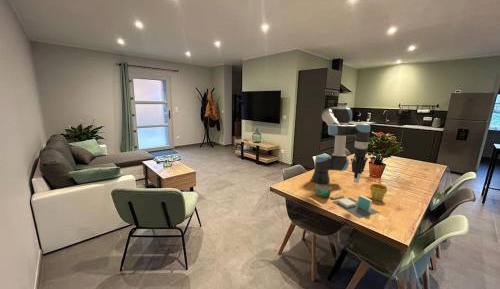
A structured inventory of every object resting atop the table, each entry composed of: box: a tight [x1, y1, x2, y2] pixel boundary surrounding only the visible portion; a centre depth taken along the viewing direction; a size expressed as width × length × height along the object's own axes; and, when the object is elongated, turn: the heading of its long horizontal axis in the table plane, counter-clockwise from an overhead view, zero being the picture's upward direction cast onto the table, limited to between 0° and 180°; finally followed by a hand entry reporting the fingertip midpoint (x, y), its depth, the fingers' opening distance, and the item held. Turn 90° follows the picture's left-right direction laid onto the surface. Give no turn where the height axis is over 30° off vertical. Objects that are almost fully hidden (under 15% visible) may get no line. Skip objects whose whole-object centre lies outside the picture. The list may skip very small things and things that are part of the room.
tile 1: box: [337, 197, 356, 208], centre depth 140 cm, size 8×2×8 cm
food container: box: [314, 182, 333, 199], centre depth 150 cm, size 12×6×10 cm, turn 44°
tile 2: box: [357, 194, 373, 213], centre depth 133 cm, size 8×2×8 cm, turn 24°
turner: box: [329, 194, 345, 201], centre depth 151 cm, size 18×6×2 cm, turn 114°
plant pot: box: [369, 183, 388, 202], centre depth 151 cm, size 10×10×10 cm
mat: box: [331, 197, 380, 219], centre depth 137 cm, size 22×18×1 cm
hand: (356, 182), depth 138 cm, fingers closed
